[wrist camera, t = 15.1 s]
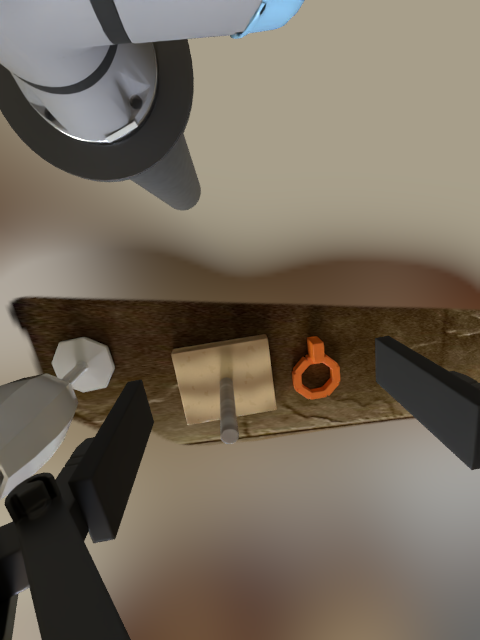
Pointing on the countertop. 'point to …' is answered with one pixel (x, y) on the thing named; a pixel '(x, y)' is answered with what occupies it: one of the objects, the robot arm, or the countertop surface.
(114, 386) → the countertop surface
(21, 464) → the wineglass
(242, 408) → the board
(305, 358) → the ring
